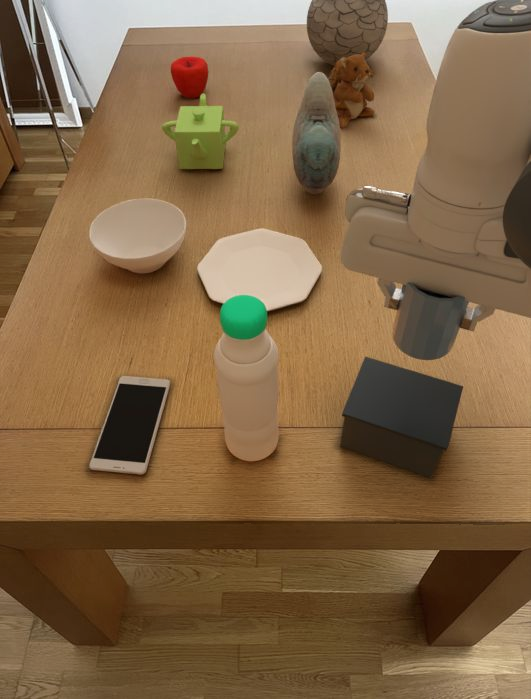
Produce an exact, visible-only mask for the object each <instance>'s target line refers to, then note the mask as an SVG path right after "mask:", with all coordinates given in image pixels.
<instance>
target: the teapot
mask: <svg viewBox="0 0 531 699" xmlns="http://www.w3.org/2000/svg"><path fill="white" fill-rule="evenodd" d="M172 127H175V128H174V131H173V130H172ZM226 127H228V128H230V129H229V130H228V132H227V133H226ZM239 129H240V126H239V123H237V122H236V121H233V120H228V119H225V114H224V106H223V105H208V104H207V94H206V93H204V92H203V94H201V96H199V105H188V106H187V105H181V106H179V110H178V115H177V119H176V120H170V121H166V122H164V123H163V124H162V125H161V130H162V132H163V133H164V134H165V135H166V136H167V137H168V138H170V139H171V140H173V141H174V142H175V147H176V148H175V149H176V154H177V160H178V166H179V170H219V169H221V170H222V169H223V168H224V163H225V162H224V161H225V153H226V152H225V151H226V143H227V142H228V141H230V140H231V139H232V138H233V137H234V136H235V135H236V134H237V133H238V131H239Z"/></svg>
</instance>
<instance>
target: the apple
mask: <svg viewBox="0 0 531 699" xmlns="http://www.w3.org/2000/svg"><path fill="white" fill-rule="evenodd" d="M170 75H171V78H172V81H173V83H174V86H175V88H176V90H177V92H179V94H180V95H181V96H182V97H183V98H187V99H195V98H200V96H201V94H203V93H204V92H205V90H206V89H207V84H208V79H209V65H208V62H207V61H206V60H205V58H202V57H200V56H182V57H180V58H177V59H176V60H174V61H172V62H171V65H170Z"/></svg>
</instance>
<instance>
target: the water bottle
mask: <svg viewBox="0 0 531 699" xmlns="http://www.w3.org/2000/svg"><path fill="white" fill-rule="evenodd" d="M219 322H220V325H221V329H222V332H223V333H222V335H221V337H220V338H219V340H218V341H217V343H216V345H215V347H214V352H213V353H214V354H213V362H214V366H215V369H216V380H217V381H216V382H217V389H218V390H217V391H218V396H219V397H218V398H219V403H220V407H221V412H222V414H221V418H222V425H223V428H224V429H223V430H224V433H223V434H224V441H225V445H226V447H227V449H228V451H229V453H231V454H232V455H233V456H234V457H235V458H237V459H239V460H241V461H245V462H257V461H258V462H259V461H261V460H264V459H266V458H268V457H269V456H271V454H273V452H274V451H276V448H277V446H278V443H279V438H280V432H279V416H280V415H279V408H278V405H279V404H278V403H279V393H280V392H279V388H280V386H279V384H280V382H279V368H278V364H279V360H280V359H279V358H280V354H279V349H278V346H277V343H276V342H275V340H274V338H273V337H272V336H271V335H270V334H269V332H268V330H266V328H267V324H268V312H267V309H266V307H265V305H264V303H263V302H261V300H259V299H258V298H255V297H254V296H251V295H250V296H249V295H239V296H237V295H236V296H235V297H232V298H230V299H229V300H227V301H226V302H225V303H224V304H221V307H220V310H219Z"/></svg>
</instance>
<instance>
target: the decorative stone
mask: <svg viewBox="0 0 531 699" xmlns="http://www.w3.org/2000/svg"><path fill="white" fill-rule="evenodd" d="M291 140H292V141H291V148H292V149H291V152H292V153H291V154H292V164H293V169H294V173H295V176H296V178H297V180H298V183H299V184H300V185H301V187H302V188H303V189H304V190H305V191H306V192H307V193H309V194H310V195H318V194H321V193H322V192H324V191H325V190H326V189H327V188H328V187H329V186H330V185H331V184H332V183H333V181H334V180H335V178H336V176H337V174H338V170H339V167H340V162H341V149H342V148H341V145H342V134H341V127H340V124H339V119H338V115H337V111H336V108H335V102H334V98H333V92H332V88H331V85H330V82H329V78H328V77H327V75H326V74H325V73H323V71H316V72H315V73H314V74H313V75H312V76H311V77H310V78H309V80H308V82H307V84H306V86H305V90H304V93H303V97H302V100H301V102H300V107H299V109H298V111H297V114H296V117H295V120H294V124H293V128H292V139H291Z"/></svg>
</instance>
